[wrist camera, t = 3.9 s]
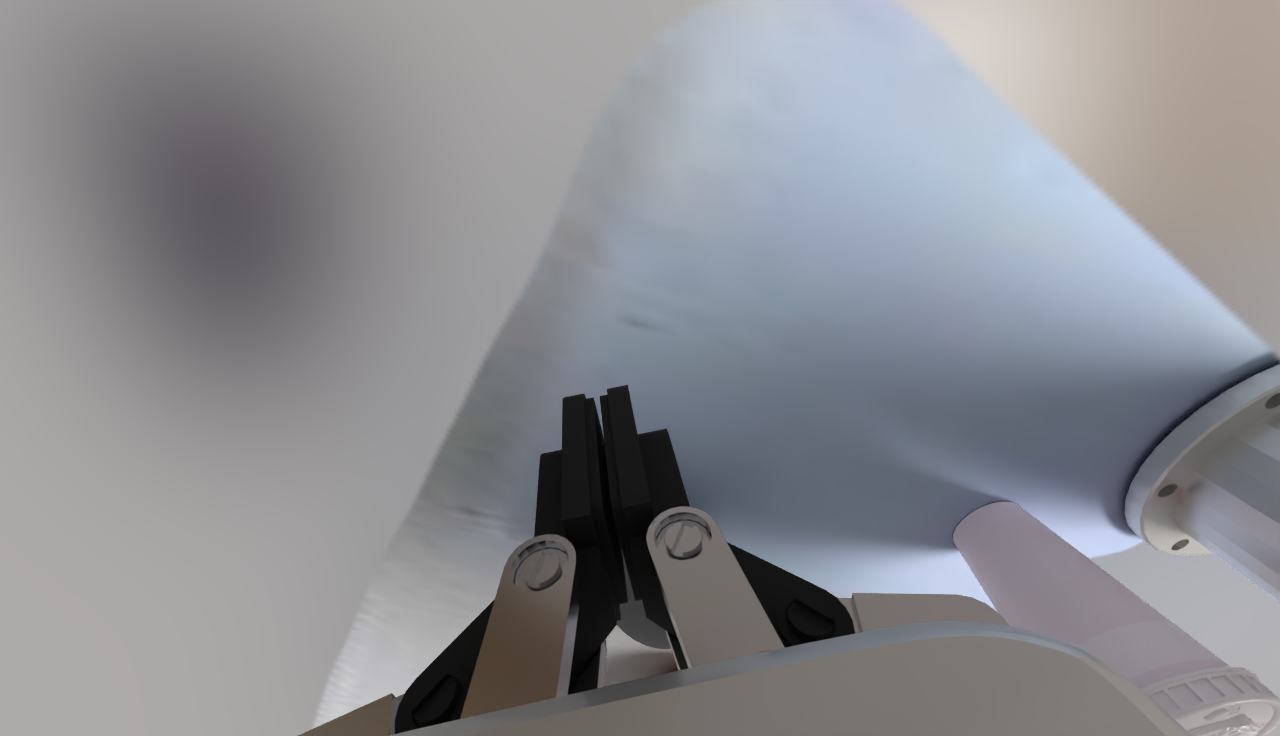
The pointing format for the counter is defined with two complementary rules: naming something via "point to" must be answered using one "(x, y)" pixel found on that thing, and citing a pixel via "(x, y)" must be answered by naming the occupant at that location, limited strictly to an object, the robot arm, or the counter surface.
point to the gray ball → (640, 621)
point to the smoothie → (1108, 623)
